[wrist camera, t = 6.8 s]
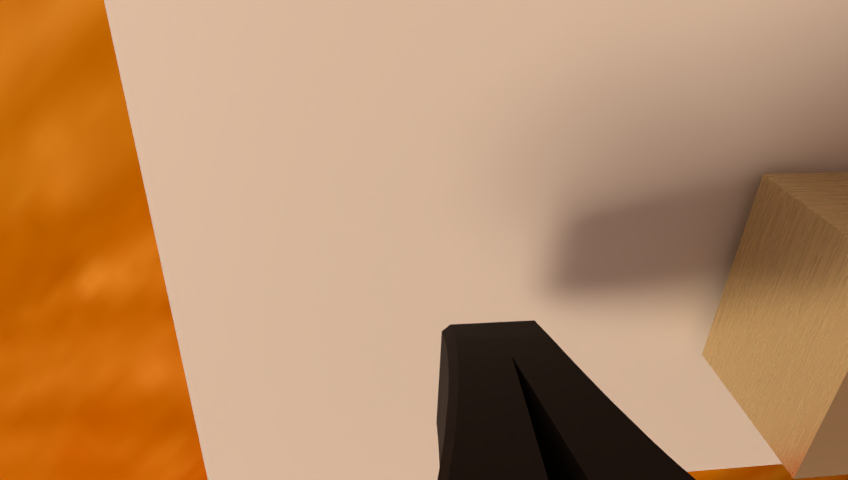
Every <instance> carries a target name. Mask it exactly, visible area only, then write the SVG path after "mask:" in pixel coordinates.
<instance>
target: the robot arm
mask: <svg viewBox="0 0 848 480" xmlns="http://www.w3.org/2000/svg"><path fill="white" fill-rule="evenodd" d="M436 424H437V434H438V446H439V466H440V468H439V473H438V479H437V480H695V479H694V478H693V477H692V476H691V475H690V474H689V473H687V472H686V471H685V470H684V469H683V468H682V467H681V466H679V465H678V464H677V463H676V462H675V461H674V460H673V459H672V458H670V457H669V456H668V455H667V454H666V453H665V452H664V451H663V450H662V449H661V448H660V447H659V446H658V445H656V444H655V443H654V442H653V441H652V440H651V439H650V438H649V437H648V436H647V435H646V434H645V433H644V432H643V431H642V430H641V429H640V428H639V427H638V426H637V425H636V424H635V423H634V422H633V421H632V420H631V419H629V418H628V417H627V416H626V415H625V414H624V413H623V412H622V411H621V410H620V409H619V408H618V407H617V406H616V405H615V404H614V403H613V402H612V401H611V400H610V399H609V398H608V397H607V396H606V395H605V394H604V393H603V392H602V391H601V390H600V389H599V388H598V387H597V386H596V385H595V384H594V382H593V381H592V380H591V379H590V378H589V377H588V376H587V375H586V374H585V373H584V372H583V371H582V370H581V369H580V368H579V367H578V366H577V365H576V364H575V363H574V362H573V360H572V359H571V358H570V357H569V356H568V355H567V354H566V353H565V352H564V351H563V350H562V349H561V348H560V347H559V346H558V344H557V343H556V342H555V341H554V340H553V339H552V338H551V337H550V336H549V335H548V334H547V333H546V332H545V331H544V330H543V329H542V328H541V327H540V326H539V325H538V324H537V323H536V322H535V320H531V321H511V322H491V323H471V324H450V325H449V326H448V327H447V328H445V329H444V330H443V331H442V335H441V352H440V369H439V386H438V404H437V421H436Z"/></svg>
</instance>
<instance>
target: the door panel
mask: <svg viewBox="0 0 848 480" xmlns="http://www.w3.org/2000/svg"><path fill="white" fill-rule="evenodd" d="M104 2H105V7H106V11H107V16H108V21H109V25H110V30H111V35H112V39H113V44H114V48H115V53H116V58H117V62H118V67H119V71H120V76H121V81H122V85H123V90H124V95H125V99H126V104H127V108H128V113H129V118H130V122H131V127H132V131H133V136H134V141H135V145H136V150H137V154H138V159H139V164H140V168H141V173H142V178H143V182H144V187H145V191H146V196H147V201H148V205H149V210H150V214H151V219H152V224H153V228H154V233H155V238H156V242H157V247H158V251H159V256H160V261H161V265H162V270H163V274H164V279H165V284H166V288H167V293H168V298H169V302H170V307H171V311H172V316H173V321H174V325H175V330H176V334H177V339H178V344H179V348H180V353H181V358H182V362H183V367H184V371H185V376H186V381H187V385H188V390H189V394H190V399H191V404H192V408H193V413H194V417H195V422H196V427H197V431H198V436H199V441H200V445H201V450H202V454H203V459H204V464H205V468H206V473H207V477H208V480H437V479H438V473H439V468H440V466H439V446H438V434H437V424H436V421H437V404H438V386H439V369H440V352H441V335H442V331H443V330H444V329H445V328H447V327H448V326H449V325H450V324H471V323H491V322H511V321H531V320H535V322H536V323H537V324H538V325H539V326H540V327H541V328H542V329H543V330H544V331H545V332H546V333H547V334H548V335H549V336H550V337H551V338H552V339H553V340H554V341H555V342H556V343H557V344H558V346H559V347H560V348H561V349H562V350H563V351H564V352H565V353H566V354H567V355H568V356H569V357H570V358H571V359H572V360H573V362H574V363H575V364H576V365H577V366H578V367H579V368H580V369H581V370H582V371H583V372H584V373H585V374H586V375H587V376H588V377H589V378H590V379H591V380H592V381H593V382H594V384H595V385H596V386H597V387H598V388H599V389H600V390H601V391H602V392H603V393H604V394H605V395H606V396H607V397H608V398H609V399H610V400H611V401H612V402H613V403H614V404H615V405H616V406H617V407H618V408H619V409H620V410H621V411H622V412H623V413H624V414H625V415H626V416H627V417H628V418H629V419H631V420H632V421H633V422H634V423H635V424H636V425H637V426H638V427H639V428H640V429H641V430H642V431H643V432H644V433H645V434H646V435H647V436H648V437H649V438H650V439H651V440H652V441H653V442H654V443H655V444H656V445H658V446H659V447H660V448H661V449H662V450H663V451H664V452H665V453H666V454H667V455H668V456H669V457H670V458H672V459H673V460H674V461H675V462H676V463H677V464H678V465H679V466H681V467H682V468H683V469H684V470H685V471H686V472H689V471H701V470H713V469H725V468H737V467H749V466H761V465H773V464H782V463H781V461H780V460H779V458H778V457H777V456H776V454H775V453H774V452H773V450H772V449H771V448H770V446H769V445H768V444H767V442H766V441H765V439H764V438H763V437H762V435H761V434H760V433H759V431H758V430H757V429H756V427H755V426H754V425H753V423H752V422H751V421H750V419H749V418H748V416H747V415H746V414H745V412H744V411H743V410H742V408H741V407H740V406H739V404H738V403H737V402H736V400H735V399H734V397H733V396H732V395H731V393H730V392H729V391H728V389H727V388H726V387H725V385H724V384H723V383H722V381H721V380H720V378H719V377H718V376H717V374H716V373H715V372H714V370H713V369H712V368H711V366H710V365H709V364H708V362H707V361H706V359H705V358H704V357H703V355H702V353H703V350H704V347H705V344H706V341H707V338H708V335H709V332H710V329H711V326H712V323H713V320H714V317H715V314H716V312H717V309H718V306H719V303H720V300H721V297H722V294H723V291H724V288H725V285H726V282H727V279H728V276H729V273H730V270H731V267H732V264H733V261H734V258H735V255H736V252H737V249H738V246H739V243H740V241H741V238H742V235H743V232H744V229H745V226H746V223H747V220H748V217H749V214H750V211H751V208H752V205H753V202H754V199H755V196H756V193H757V190H758V187H759V184H760V181H761V178H762V175H763V174H782V173H824V172H848V0H104Z"/></svg>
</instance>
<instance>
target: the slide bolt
mask: <svg viewBox="0 0 848 480" xmlns="http://www.w3.org/2000/svg"><path fill="white" fill-rule="evenodd" d="M702 355H703V357H704V358H705V359H706V361H707V362H708V364H709V365H710V366H711V368H712V369H713V370H714V372H715V373H716V374H717V376H718V377H719V378H720V380H721V381H722V383H723V384H724V385H725V387H726V388H727V389H728V391H729V392H730V393H731V395H732V396H733V397H734V399H735V400H736V402H737V403H738V404H739V406H740V407H741V408H742V410H743V411H744V412H745V414H746V415H747V416H748V418H749V419H750V421H751V422H752V423H753V425H754V426H755V427H756V429H757V430H758V431H759V433H760V434H761V435H762V437H763V438H764V439H765V441H766V442H767V444H768V445H769V446H770V448H771V449H772V450H773V452H774V453H775V454H776V456H777V457H778V458H779V460H780V461H781V463H782V464H783V465H784V467H785V468H786V469H787V471H788V472H789V473H790V475H791V476H792V477H793V479H798V478H810V477H821V476H833V475H845V474H848V172H824V173H782V174H763V175H762V178H761V181H760V184H759V187H758V190H757V193H756V196H755V199H754V202H753V205H752V208H751V211H750V214H749V217H748V220H747V223H746V226H745V229H744V232H743V235H742V238H741V241H740V243H739V246H738V249H737V252H736V255H735V258H734V261H733V264H732V267H731V270H730V273H729V276H728V279H727V282H726V285H725V288H724V291H723V294H722V297H721V300H720V303H719V306H718V309H717V312H716V314H715V317H714V320H713V323H712V326H711V329H710V332H709V335H708V338H707V341H706V344H705V347H704V350H703V353H702Z"/></svg>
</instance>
